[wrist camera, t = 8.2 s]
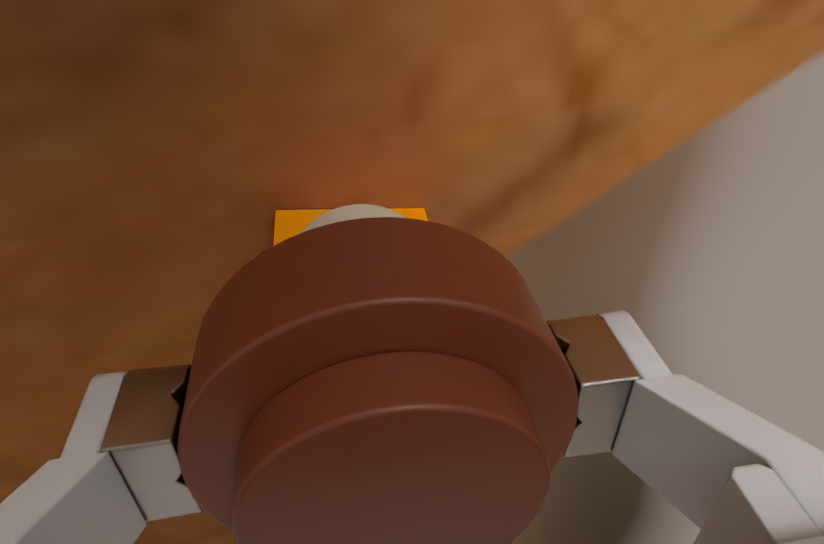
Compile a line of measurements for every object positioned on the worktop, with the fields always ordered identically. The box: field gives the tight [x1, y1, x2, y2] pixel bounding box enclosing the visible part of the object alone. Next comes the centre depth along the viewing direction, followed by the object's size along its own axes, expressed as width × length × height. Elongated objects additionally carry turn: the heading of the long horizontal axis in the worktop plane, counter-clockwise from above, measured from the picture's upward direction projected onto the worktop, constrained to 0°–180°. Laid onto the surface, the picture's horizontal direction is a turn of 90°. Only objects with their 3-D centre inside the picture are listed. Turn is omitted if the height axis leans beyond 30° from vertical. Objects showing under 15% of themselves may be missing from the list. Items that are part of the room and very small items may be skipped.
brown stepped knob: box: [177, 204, 578, 544], centre depth 10 cm, size 6×6×6 cm
